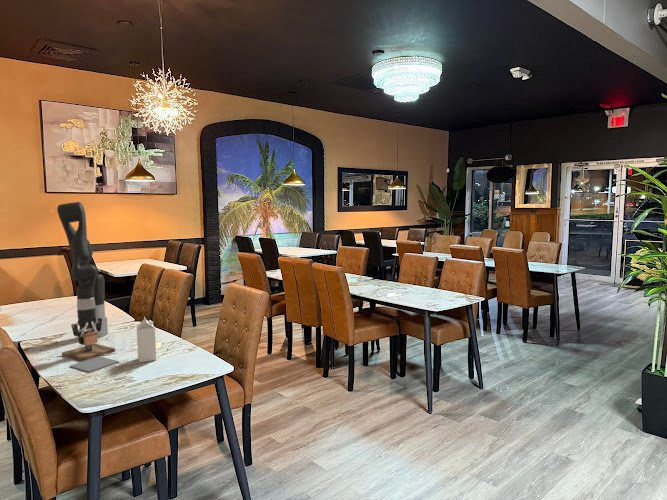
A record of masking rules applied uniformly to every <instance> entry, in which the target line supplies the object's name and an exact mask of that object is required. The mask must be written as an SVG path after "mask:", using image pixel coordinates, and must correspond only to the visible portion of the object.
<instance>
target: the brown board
mask: <svg viewBox="0 0 667 500" xmlns="http://www.w3.org/2000/svg"><path fill="white" fill-rule="evenodd" d="M114 352H116V348H114V347H110V346H107V345H103V344H99V343H94V344H90V345H87V346H86V345H83V346H80V347H77V348H74V349H70V350H66V351H63V352H61V356H62V357H64V358H65V357H66V358H69V359H73V360H76V361H80V362H83V361H86V360H89V359H93V358H96V357H99V356H101V357H103V356H104V355H109V354H111V353H114Z"/></svg>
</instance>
